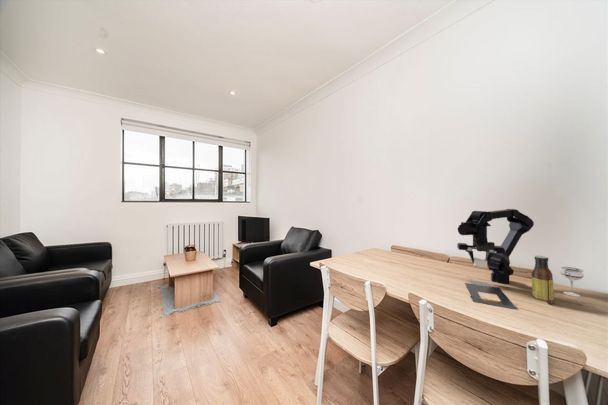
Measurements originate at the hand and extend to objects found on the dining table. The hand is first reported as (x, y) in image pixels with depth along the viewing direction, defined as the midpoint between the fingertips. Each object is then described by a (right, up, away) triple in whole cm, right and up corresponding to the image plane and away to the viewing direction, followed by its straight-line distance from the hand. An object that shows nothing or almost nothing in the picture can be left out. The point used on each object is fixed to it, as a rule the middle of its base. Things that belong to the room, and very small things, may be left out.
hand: (479, 264), depth 110 cm
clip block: (0, -1, 0) cm, 0 cm away
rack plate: (-6, -12, -11) cm, 17 cm away
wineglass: (+34, -11, -12) cm, 37 cm away
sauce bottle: (+13, -12, -17) cm, 25 cm away
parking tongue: (0, -11, 0) cm, 11 cm away
